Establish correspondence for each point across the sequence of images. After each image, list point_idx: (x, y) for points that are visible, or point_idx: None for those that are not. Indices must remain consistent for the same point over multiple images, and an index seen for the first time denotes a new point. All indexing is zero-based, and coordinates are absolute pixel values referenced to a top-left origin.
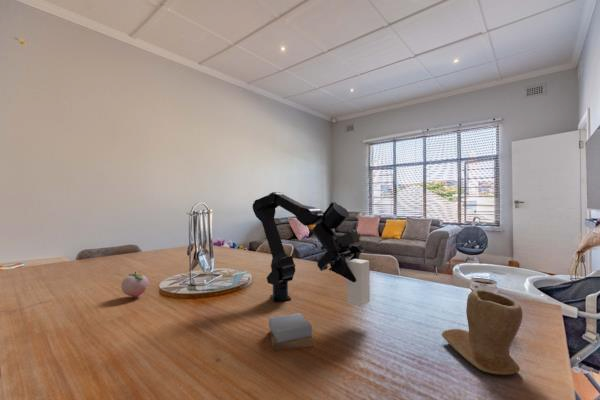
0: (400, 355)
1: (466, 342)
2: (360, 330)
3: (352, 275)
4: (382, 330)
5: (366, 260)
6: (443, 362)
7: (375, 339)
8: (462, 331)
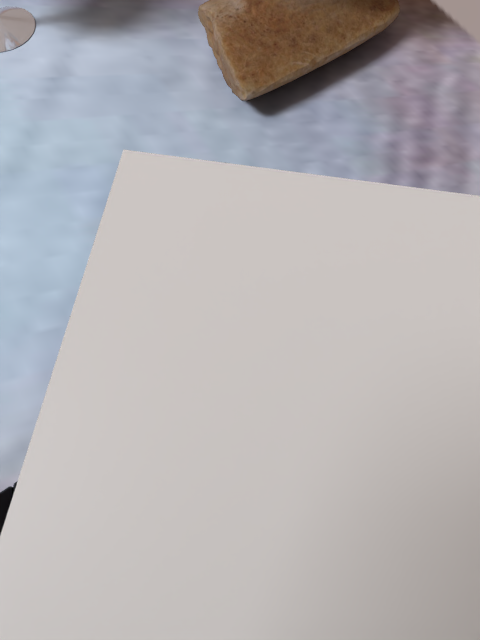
0: None
1: (315, 13)
2: None
3: None
4: None
5: (122, 222)
6: (379, 106)
7: None
8: (236, 22)
